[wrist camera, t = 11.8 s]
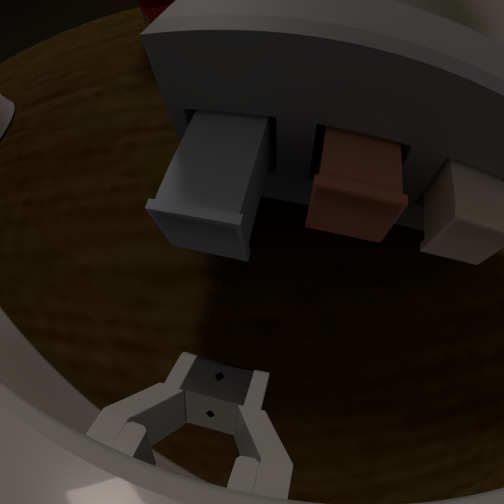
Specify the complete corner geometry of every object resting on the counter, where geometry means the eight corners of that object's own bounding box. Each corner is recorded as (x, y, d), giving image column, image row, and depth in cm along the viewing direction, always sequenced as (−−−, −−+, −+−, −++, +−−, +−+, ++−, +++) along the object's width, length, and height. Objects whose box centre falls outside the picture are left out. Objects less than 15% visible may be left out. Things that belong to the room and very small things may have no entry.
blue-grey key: (248, 261, 17) (240, 224, 13) (172, 245, 17) (144, 208, 13) (276, 152, 19) (276, 102, 15) (211, 143, 20) (198, 95, 16)
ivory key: (477, 265, 16) (518, 236, 12) (419, 251, 16) (455, 216, 12) (467, 169, 18) (494, 132, 14) (416, 153, 19) (439, 110, 15)
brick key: (380, 242, 17) (408, 204, 13) (304, 227, 17) (313, 183, 13) (382, 144, 19) (400, 98, 15) (321, 131, 20) (328, 81, 16)
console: (465, 242, 20) (572, 138, 8) (196, 185, 23) (139, 34, 11) (458, 169, 22) (528, 59, 10) (222, 120, 25) (196, -17, 13)
